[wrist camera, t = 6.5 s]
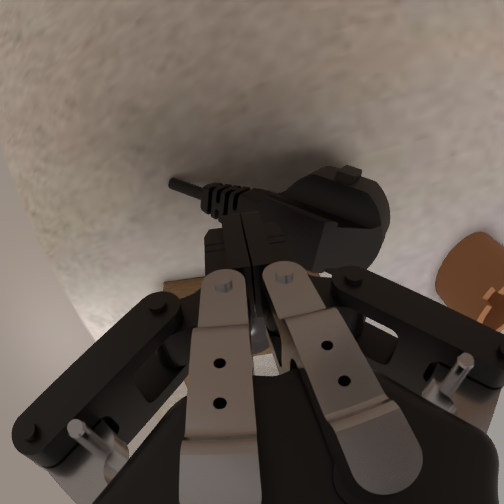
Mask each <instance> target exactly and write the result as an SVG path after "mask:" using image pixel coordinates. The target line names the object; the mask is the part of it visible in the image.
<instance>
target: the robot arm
mask: <svg viewBox="0 0 504 504" xmlns="http://www.w3.org/2000/svg"><path fill="white" fill-rule="evenodd" d="M240 220H241V221H240ZM221 221H222V228H217V229H210V230H209V231H208V232H207V234H206V235H205V237H204V245H205V278H204V279H203V281H202V284H201V288H200V289H199V290H198V291H196V292H195V293H193V294H191V295H189V296H186V297H184V298H181V299H179V298H178V297H177V296H176V295H175V294H173V293H171V292H166V291H161V292H155V293H152V294H150V295H148V296H146V297H145V298H143V299H142V300H141V301H140V302H139V303H138V304H137V305H136V306H135V307H133V308H132V309H131V310H130V311H129V312H128V313H127V314H126V315H125V316H123V317H122V318H121V319H120V320H119V321H118V322H117V323H116V324H115V325H114V326H113V327H112V328H110V329H109V330H108V331H107V332H106V333H105V334H104V335H103V336H102V337H101V338H100V339H99V340H97V341H96V342H95V343H94V344H93V345H92V346H91V347H90V348H89V349H88V350H87V351H86V352H85V353H84V354H83V355H82V356H80V357H79V358H78V360H76V361H75V362H74V363H73V364H72V365H71V366H70V367H69V368H68V369H67V370H66V371H65V372H64V373H63V374H62V375H61V376H60V377H59V378H58V379H56V380H55V381H54V382H53V383H52V384H51V385H50V386H49V387H48V388H47V389H46V390H45V391H44V392H43V393H42V394H41V395H40V396H39V397H38V398H37V399H36V400H35V401H34V402H33V403H32V404H31V405H30V406H29V407H28V408H27V409H26V410H25V411H24V412H23V413H22V414H21V415H20V416H19V417H18V418H17V420H16V421H15V423H14V425H13V428H12V441H13V444H14V446H15V448H16V449H17V450H18V451H19V452H20V453H22V454H23V455H25V456H26V457H28V458H29V459H31V460H32V461H34V463H36V464H37V465H38V466H40V467H41V468H43V469H45V470H46V471H48V472H49V474H50V475H51V476H52V477H53V478H54V480H55V481H56V482H57V483H58V484H59V485H60V486H61V488H62V489H63V490H64V491H65V492H66V493H67V494H68V495H69V496H70V497H71V499H72V500H73V501H74V502H75V503H76V504H499V501H498V471H499V460H498V454H497V450H496V448H495V445H494V444H493V442H492V440H491V439H490V438H489V436H488V435H487V434H486V433H487V431H488V428H489V425H490V422H491V420H492V417H493V414H494V410H495V407H496V404H497V401H498V398H499V394H500V391H501V388H503V386H504V334H502V333H500V332H498V331H496V330H494V329H492V328H490V327H488V326H486V325H484V324H482V323H480V322H478V321H476V320H473V319H471V318H469V317H467V316H465V315H463V314H461V313H459V312H457V311H455V310H453V309H451V308H449V307H446V306H444V305H442V304H440V303H438V302H436V301H434V300H432V299H429V298H427V297H425V296H423V295H421V294H419V293H417V292H414V291H412V290H410V289H408V288H406V287H404V286H401V285H399V284H397V283H395V282H393V281H390V280H388V279H386V278H384V277H382V276H379V275H377V274H375V273H373V272H371V271H368V270H366V269H364V268H361V267H358V266H343V267H340V268H338V269H336V270H335V271H334V272H333V274H332V278H328V277H316V276H312V275H309V274H307V273H306V271H305V269H304V268H303V267H302V266H301V265H299V264H297V263H296V262H295V260H294V258H293V255H292V253H291V250H290V248H289V246H288V243H287V242H286V239H285V236H284V234H283V232H282V229H281V227H280V226H278V225H277V224H276V223H274V222H273V221H271V222H263V223H262V220H261V218H260V215H259V212H258V211H254V212H246V213H240V217H239V213H238V214H231V215H223V216H221ZM254 305H255V310H256V315H257V318H258V317H264V320H265V327H266V336H267V339H268V342H269V345H270V348H271V351H272V354H273V357H274V360H275V362H276V365H277V368H278V371H279V375H278V376H255V375H254V363H253V351H252V339H251V332H252V321H251V318H255V310H254ZM366 317H368V318H370V319H372V320H374V321H376V322H378V323H380V324H382V325H384V326H386V327H388V328H390V329H392V330H393V331H394V332H395V333H396V334H397V336H398V338H397V337H394V336H392V335H391V334H389V333H387V332H385V331H383V330H381V329H379V328H377V327H375V326H373V325H371V324H369V323H367V322H365V320H366ZM188 375H189V376H188ZM187 376H188V390H187V396H185V397H183V398H182V399H181V400H179V401H178V402H177V403H175V404H174V405H173V406H172V407H171V408H170V409H169V410H168V411H167V413H166V414H165V415H164V416H163V418H162V419H161V420H160V421H159V423H158V424H157V426H156V427H155V428H154V429H153V430H152V431H151V433H150V434H149V435H148V436H147V438H146V439H145V440H144V441H143V443H142V444H141V445H140V446H139V448H138V449H137V450H136V451H135V452H134V454H133V455H132V456H131V457H130V459H129V450H128V447H127V445H128V444H129V443H130V441H131V440H132V439H133V438H134V437H135V436H136V435H137V433H138V432H139V431H140V430H141V429H142V428H143V427H144V426H145V424H146V423H147V422H148V421H149V420H150V419H151V418H152V417H153V415H154V414H155V413H156V412H157V411H158V410H159V408H160V407H161V406H162V405H163V404H164V403H165V402H166V400H167V399H168V398H169V397H170V396H171V395H172V393H173V392H174V391H175V390H176V389H177V388H178V386H179V385H180V384H181V383H182V382H183V381H184V379H185V378H186V377H187ZM128 459H129V460H128Z"/></svg>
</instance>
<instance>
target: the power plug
mask: <svg viewBox="0 0 504 504" xmlns="http://www.w3.org/2000/svg"><path fill="white" fill-rule="evenodd" d="M361 173H362V170H361V169H358V168H355V167H352V166H349V165H346V166H345V167H343V168H341V169H339V168H336V167H332V166H327V167H324V168H321V169H319V170H317V171H315V172H313V173H311V174H310V175H308V176H306V177H304V178H302V179H300V180H298V181H297V182H295V183H294V184H293V185H292V186H290V187H289V188H288V189H287V190H286V191H285V192H283V193H278V194H277V193H273V192H270V191H267V190H263V189H257V188H253V189H251V190H250V187H242V188H241V186H236V185H234V186H232V185H229V184H225V185H223V184H222V183H211V184H209V185H206V186H204V187H203V188H201V187H199V186H196V185H193V184H190V183H187V182H184V181H181V180H178V179H176V178H172V179H171V180H170V181H169V184H168V186H169V188H170V189H173V190H176V191H178V192H181V193H184V194H186V195H189V196H192V197H194V198H197V199H199V200H201V210H202V211H204V212H205V213H207V214H211V217H213V218H214V219H218V221H219V222H220V223H222V221H221V216H223V215H231V214H238V213H239V217H240V213H246V212H254V211H258V212H259V215H260V218H261V220H262V223H263V222H271V221H273V222H274V223H276V224H277V225H278V226H280V227H281V229H282V232H283V234H284V236H285V239H286V242H287V243H288V246H289V248H290V250H291V253H292V255H293V258H294V260H295V262H296V263H297V264H299V265H301V266H302V267H303V268H304V269H305V270H307V271H310V272H312V273H322V272H324V271H325V272H327V273H329V274H331V275H332V274H333V272H334V271H335V270H336V269H338V268H340V267H343V266H358V267H361V268H364V269H367V268H368V267H369V266H370V265H371V264H372V263H373V261H374V260H375V258H376V257H377V255H378V253H379V251H380V248H381V245H382V243H383V241H384V238H385V234H386V232H387V229H388V227H389V224H390V209H389V204H388V201H387V198H386V196H385V193H384V192H383V190H382V188H381V187H380V186H379V184H378V183H377V182H376V181H373V180H370V179H367V178H365V177H362V176H361ZM240 221H241V220H240Z"/></svg>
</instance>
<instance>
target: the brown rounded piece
mask: <svg viewBox="0 0 504 504" xmlns="http://www.w3.org/2000/svg"><path fill="white" fill-rule="evenodd" d="M435 287H436V292H437V294H438V295H439V296H440V298H441V299H442V300H443V301H444V303H445V304H446V305H447V307H449V308H451V309H453V310H455V311H457V312H459V313H461V314H463V315H465V316H467V317H469V318H471V319H473V320H476V321H478V322H480V323H482V324H484V325H486V326H488V327H490V328H492V329H494V330H496V331H498V332H500V331H502V330H503V329H504V247H503V246H501V245H500V244H499V243H498V242H497V241H495V240H494V239H493V238H492V237H490V236H489V235H488V234H486V233H483V232H477V233H474V234H471V235H469V236H467V237H466V238H464V239H463V240H461V241H460V242H459V243H458V244H457V245H456V246H455V247H454V248H453V249H452V250H451V251H450V253H449V254H448V255H447V257H446V258H445V260H444V261H443V263H442V265H441V267H440V269H439V271H438V274H437V277H436V283H435Z"/></svg>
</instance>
